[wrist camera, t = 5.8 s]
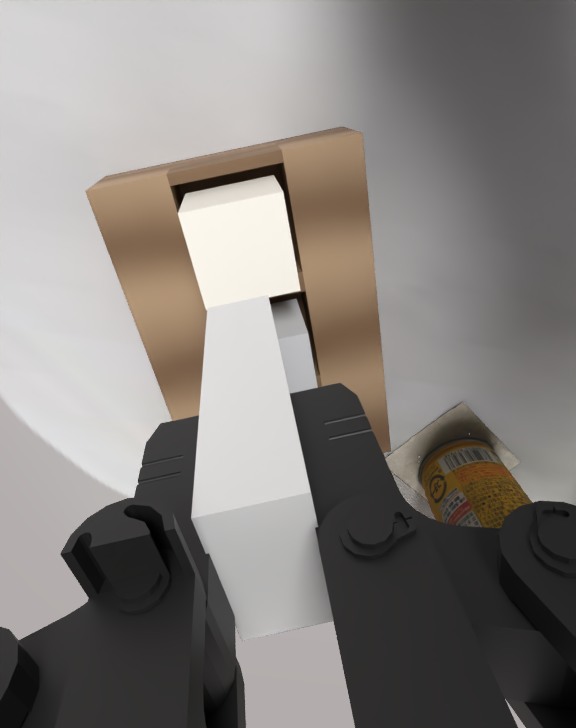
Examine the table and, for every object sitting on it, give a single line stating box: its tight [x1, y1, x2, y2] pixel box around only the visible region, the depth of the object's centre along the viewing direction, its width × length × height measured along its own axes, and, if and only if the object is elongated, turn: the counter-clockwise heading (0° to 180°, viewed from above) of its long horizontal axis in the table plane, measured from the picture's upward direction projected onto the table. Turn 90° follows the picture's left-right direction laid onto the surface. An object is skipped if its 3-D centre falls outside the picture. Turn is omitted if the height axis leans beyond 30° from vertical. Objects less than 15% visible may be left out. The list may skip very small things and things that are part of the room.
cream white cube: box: [178, 175, 301, 311], centre depth 21 cm, size 4×4×4 cm
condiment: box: [385, 402, 532, 528], centre depth 31 cm, size 7×8×12 cm
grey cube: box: [270, 299, 318, 393], centre depth 24 cm, size 4×4×4 cm
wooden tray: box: [85, 127, 391, 453], centre depth 27 cm, size 18×12×4 cm, turn 10°
